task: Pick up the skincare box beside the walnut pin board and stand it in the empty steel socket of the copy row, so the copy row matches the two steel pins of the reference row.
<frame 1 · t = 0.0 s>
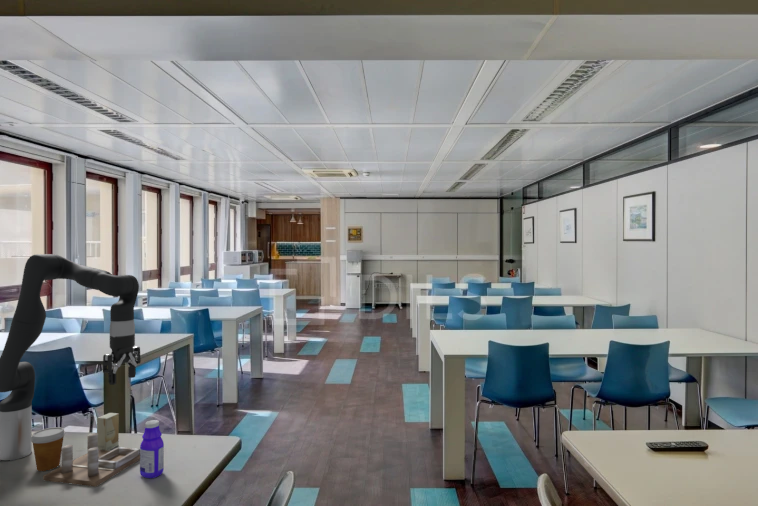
hand: (122, 380, 153), 29 cm above the table, tool pointing down, fingers open, 8 cm apart
disposable coffee cup: (48, 467, 153), on the table
bottle: (152, 475, 147), on the table
skincare box: (107, 448, 168), on the table
pin board: (95, 468, 151), on the table
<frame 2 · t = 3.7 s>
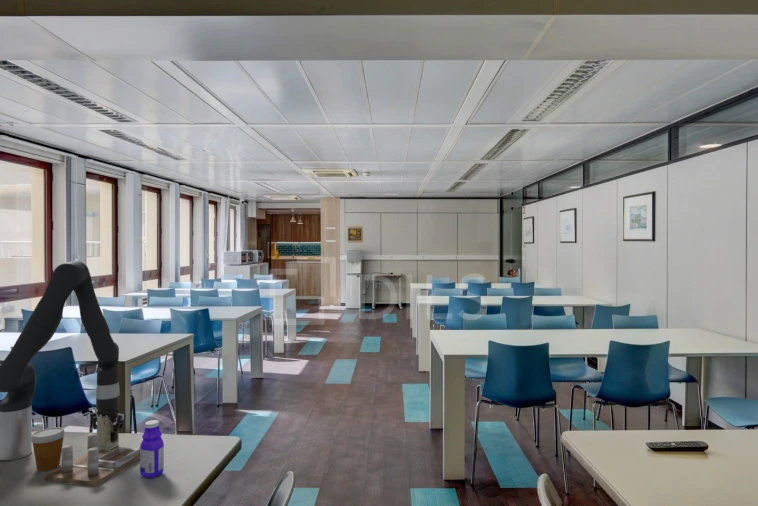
hand: (108, 440, 168), 3 cm above the table, tool pointing down, fingers closed on skincare box, 4 cm apart
skincare box: (108, 448, 168), on the table, touching gripper
everything else where it was.
when the fingers open (6 cm above the table, at t = 9.8 s): skincare box drops 2 cm, resting on pin board.
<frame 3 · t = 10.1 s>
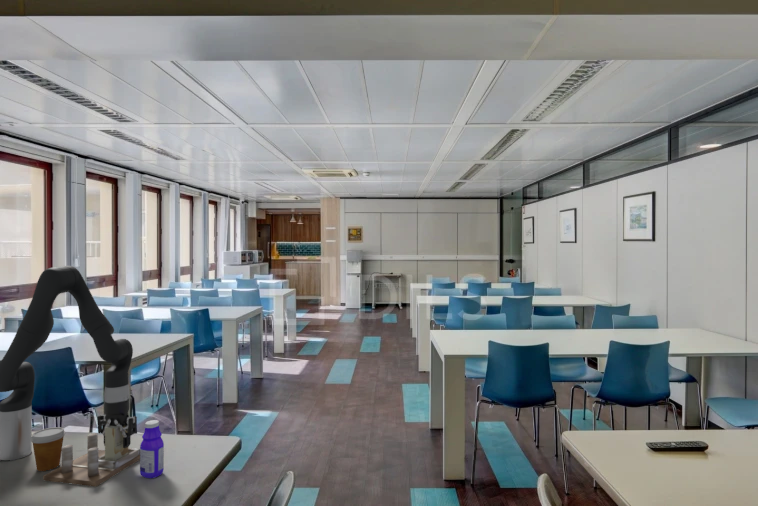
hand: (117, 446, 154), 6 cm above the table, tool pointing down, fingers open, 7 cm apart
skincare box: (117, 460, 154), point 1 cm above the table, touching pin board
everything else where it was.
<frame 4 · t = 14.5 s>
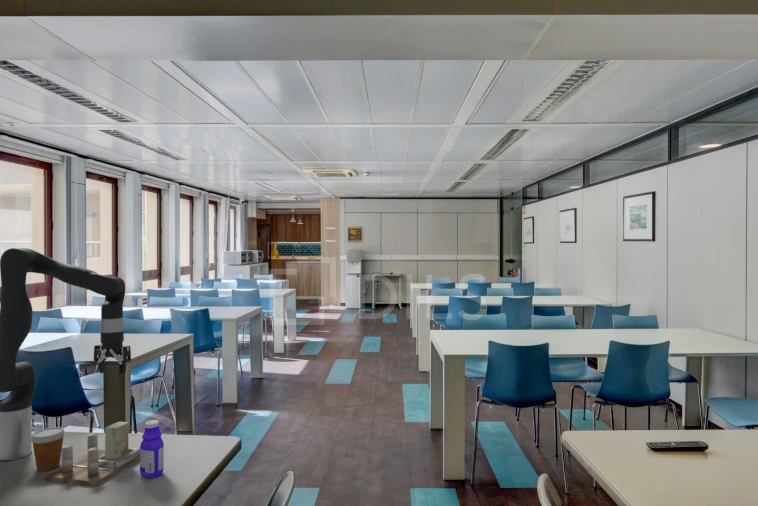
hand: (112, 373, 168), 28 cm above the table, tool pointing down, fingers open, 8 cm apart
nothing on the table moved.
at the end: skincare box 0.1 cm from the target spot on the pin board, point 1.3 cm above the pin board's base; skincare box tilted 0°; the gripper is holding nothing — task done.
